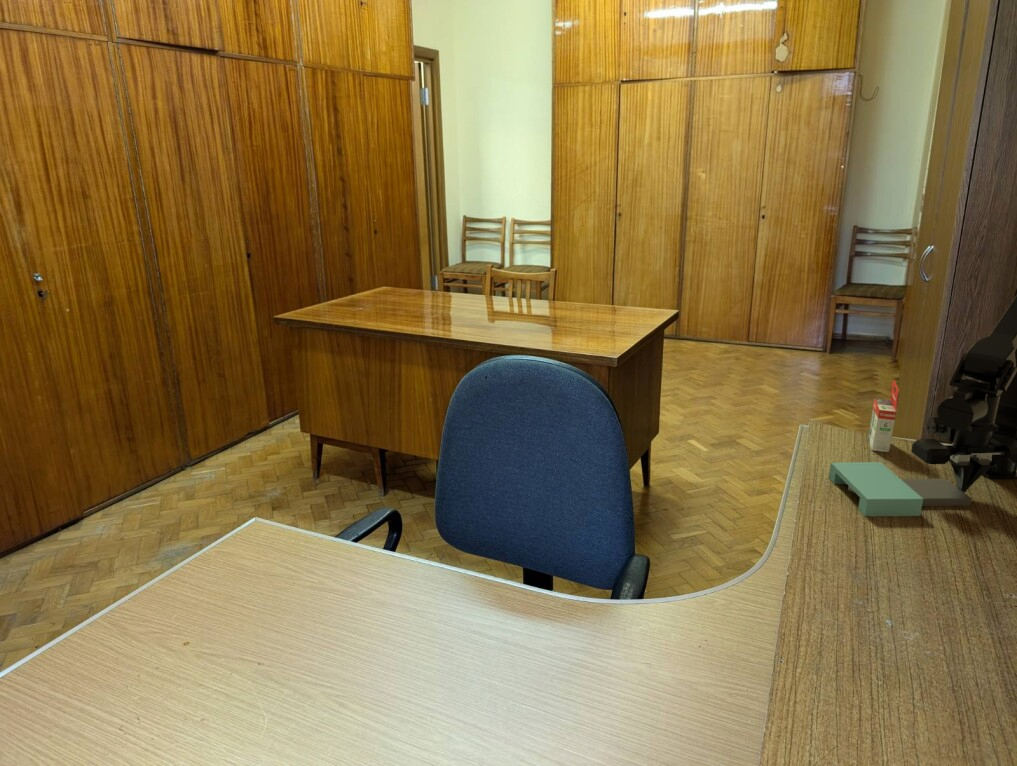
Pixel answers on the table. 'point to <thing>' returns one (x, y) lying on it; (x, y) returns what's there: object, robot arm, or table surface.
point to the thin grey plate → (938, 492)
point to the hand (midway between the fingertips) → (961, 491)
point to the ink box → (883, 421)
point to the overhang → (877, 489)
